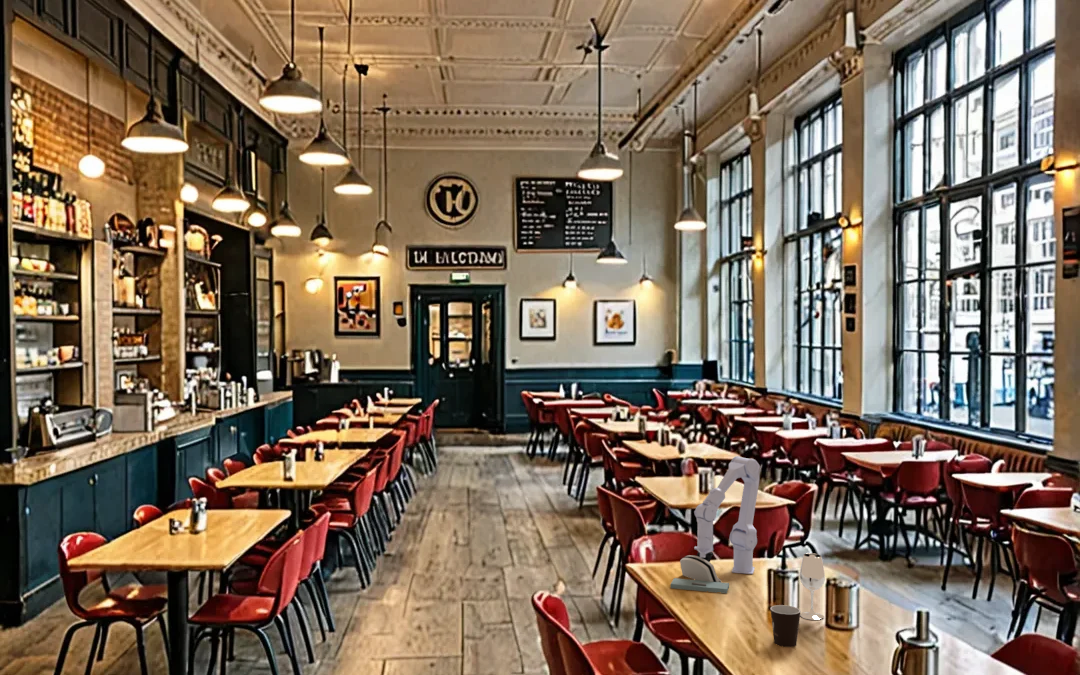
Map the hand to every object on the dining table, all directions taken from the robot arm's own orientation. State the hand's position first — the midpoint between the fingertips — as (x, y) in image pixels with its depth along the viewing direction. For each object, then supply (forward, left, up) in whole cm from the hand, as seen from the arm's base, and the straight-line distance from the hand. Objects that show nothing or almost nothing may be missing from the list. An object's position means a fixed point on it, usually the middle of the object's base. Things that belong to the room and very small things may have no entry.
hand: (704, 572), depth 329 cm
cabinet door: (+14, 0, -2) cm, 15 cm away
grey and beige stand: (+4, -2, -2) cm, 5 cm away
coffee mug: (+62, +32, -2) cm, 70 cm away
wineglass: (+35, +39, -2) cm, 53 cm away
